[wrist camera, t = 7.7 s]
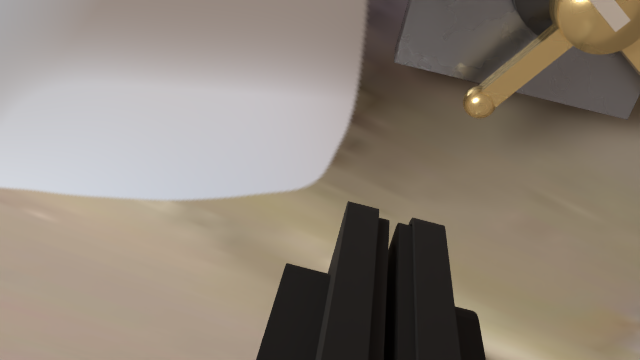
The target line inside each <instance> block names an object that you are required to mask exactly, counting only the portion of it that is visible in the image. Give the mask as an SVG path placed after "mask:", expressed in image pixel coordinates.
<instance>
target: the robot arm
mask: <svg viewBox="0 0 640 360" xmlns="http://www.w3.org/2000/svg"><path fill="white" fill-rule="evenodd" d="M388 244H389V220H386V219H382V218H379V209H376V208H372V207H369V206H365V205H361V204H357V203H353V202H349V201H348V203H347V206H346V210H345V213H344V217H343V220H342V224H341V227H340V231H339V235H338V238H337V242H336V246H335V249H334V253H333V256H332V260H331V264H330V267H329V271H328V274H327V273H323V272H319V271H315V270H311V269H307V268H303V267H299V266H295V265H292V264H288V263H287V264H286V266H285V269H284V272H283V275H282V278H281V282H280V285H279V288H278V291H277V294H276V298H275V301H274V304H273V307H272V310H271V314H270V317H269V320H268V323H267V327H266V330H265V333H264V336H263V339H262V343H261V346H260V349H259V352H258V355H257V359H256V360H486V359H485V353H484V347H483V342H482V336H481V330H480V324H479V319H478V316H477V314H476V313H475V312H474V311H471V310H467V309H463V308H459V307H455V305H454V297H453V289H452V280H451V272H450V264H449V256H448V248H447V239H446V231H445V226H443V225H439V224H435V223H431V222H427V221H423V220H420V219H416V218H412V219H411V220H410V222H409V225H405V224H402V223H398V224H397V226H396V229H395V232H394V235H393V238H392V241H391V244H390V247H389V250H388Z"/></svg>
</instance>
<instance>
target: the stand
mask: <svg viewBox="0 0 640 360" xmlns="http://www.w3.org/2000/svg"><path fill="white" fill-rule="evenodd" d="M536 37H538V36H537V35H536V34H535V33H533V32H532V31H531V30H530V29H529V28H528V27H527V26H526V24H525V23H524V22H523V21H522V19H521V18H520V17H519V15H518V13H517V11H516V8H515V6H514V2H513V0H408V4H407V8H406V11H405V15H404V18H403V22H402V26H401V29H400V33H399V36H398V40H397V44H396V47H395V57H394V62H395V63H399V64H403V65H407V66H411V67H415V68H419V69H424V70H428V71H432V72H436V73H440V74H444V75H448V76H452V77H456V78H460V79H464V80H468V81H472V82H476V83H480V84H481V83H482V82H483V81H484V80H486V79H487V78H488V77H489V76H490V75H492V74H493V73H494V72H495V71H496V70H498V69H499V68H500V67H501V66H502V65H504V64H505V63H506V62H507V61H509V60H510V59H511V58H512V57H513V56H515V55H516V54H517V53H518V52H519V51H521V50H522V49H523V48H524V47H526V46H527V45H528V44H529V43H530V42H532V41H533V40H534V39H535V38H536ZM516 92H517V93H521V94H525V95H529V96H533V97H537V98H541V99H545V100H549V101H553V102H558V103H562V104H566V105H570V106H574V107H578V108H582V109H586V110H590V111H594V112H598V113H602V114H606V115H610V116H614V117H618V118H623V119H628V117H629V115H630V113H631V111H632V109H633V107H634V105H635V103H636V101H637V99H638V97H639V95H640V75H639V74H638V73H637V72H636V71H635V69H634V68H633V67H632V66H631V64H630V63H629V62H628V61H627V60H626V58H625V57H624V56H623V55H622V53H621V52H620V51H618V52H615V53H611V54H603V55H597V54H590V53H586V52H584V51H581V50H579V49H577V48H576V47H575V46H572V47H571V48H570V49H568V50H567V51H566V52H565V53H563V54H562V55H561V56H560V57H558V58H557V59H556V60H555V61H553V62H552V63H551V64H550V65H548V66H547V67H546V68H545V69H543V70H542V71H541V72H540V73H538V74H537V75H536V76H534V77H533V78H532V79H531V80H529V81H528V82H527V83H526V84H524V85H523V86H522V87H521V88H519V89H518V90H517V91H516Z"/></svg>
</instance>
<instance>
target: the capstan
mask: <svg viewBox="0 0 640 360" xmlns="http://www.w3.org/2000/svg"><path fill="white" fill-rule="evenodd" d="M513 2H514V6H515V8H516V11H517V13H518V15H519V17H520V18H521V19H522V21H523V22H524V23H525V24H526V26H527V27H528V28H529V29H530V30H531V31H532V32H533V33H535V34H536V35H537V36H538V37H536V38H535V39H534V40H533V41H532V42H530V43H529V44H528V45H527V46H526V47H524V48H523V49H522V50H521V51H519V52H518V53H517V54H516V55H515V56H513V57H512V58H511V59H510V60H509V61H507V62H506V63H505V64H504V65H502V66H501V67H500V68H499V69H498V70H496V71H495V72H494V73H493V74H492V75H490V76H489V77H488V78H487V79H486V80H484V81H483V82H482V83H481V84H479V86H475V87H472V88H471V89H469V90H468V91H467V92H466V94H465V96H464V99H463V106H464V109H465V111H466V112H467V113H468V114H469V115H470V116H472V117H474V118H485V117H487V116H489V115H490V114H491V113H492V112H493V111H494V110H495V108H496V107H497V106H498V105H499V104H500V103H502V102H503V101H504V100H506V99H507V98H508V97H509V96H511V95H512V94H513V93H514V92H516V91H517V90H518V89H519V88H521V87H522V86H523V85H524V84H526V83H527V82H528V81H529V80H531V79H532V78H533V77H534V76H536V75H537V74H538V73H540V72H541V71H542V70H543V69H545V68H546V67H547V66H548V65H550V64H551V63H552V62H553V61H555V60H556V59H557V58H558V57H560V56H561V55H562V54H563V53H565V52H566V51H567V50H568V49H570V48H571V47H572V46H575V47H576V48H577V49H579V50H581V51H584V52H586V53H590V54H597V55H603V54H611V53H615V52H618V51H620V52H621V53H622V55H623V56H624V57H625V58H626V60H627V61H628V62H629V63H630V64H631V66H632V67H633V68H634V69H635V71H636V72H637V73H638V74H639V75H640V0H513Z"/></svg>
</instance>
